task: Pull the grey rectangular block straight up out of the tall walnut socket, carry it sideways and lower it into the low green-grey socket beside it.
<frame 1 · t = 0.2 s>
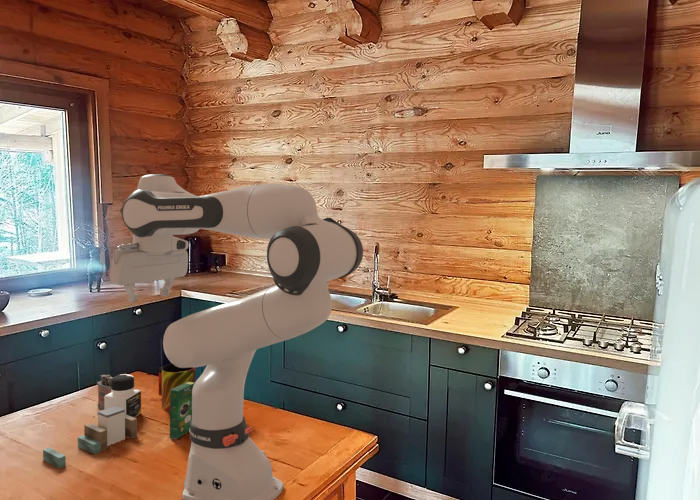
hand: (148, 298, 129), 39 cm above the table, tool pointing down, fingers open, 8 cm apart
lighter: (107, 409, 159), on the table
coffee box: (182, 433, 144), on the table
grey rectangular block: (111, 440, 138), resting in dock
mug: (172, 405, 163), on the table
medicine bottle: (123, 417, 153), on the table
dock: (92, 447, 134), on the table
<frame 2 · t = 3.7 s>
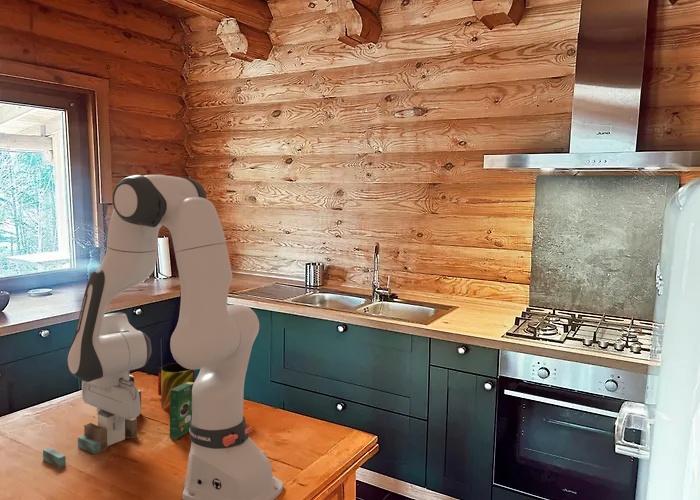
hand: (111, 426, 138), 4 cm above the table, tool pointing down, fingers closed on grey rectangular block, 4 cm apart
grey rectangular block: (111, 440, 138), resting in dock, touching gripper
everything else where it was.
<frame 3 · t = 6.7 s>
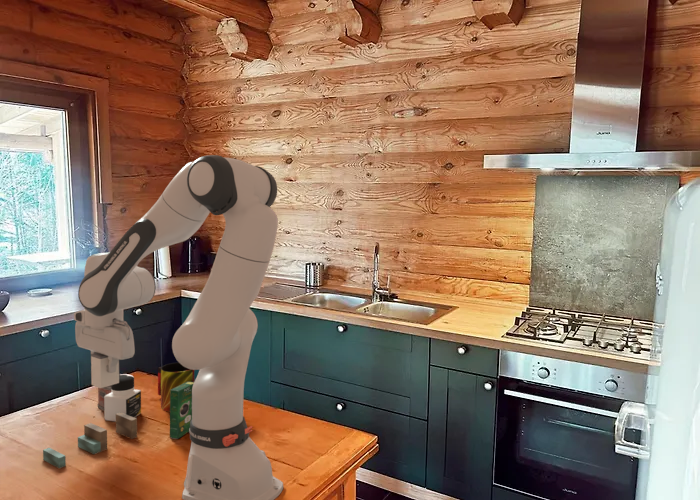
hand: (105, 369, 135), 19 cm above the table, tool pointing down, fingers closed on grey rectangular block, 4 cm apart
grey rectangular block: (105, 383, 135), point 15 cm above the table, touching gripper
everything else where it was.
when the fingers open (5 cm above the table, at t = 9.7 s): grey rectangular block drops 2 cm, resting in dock.
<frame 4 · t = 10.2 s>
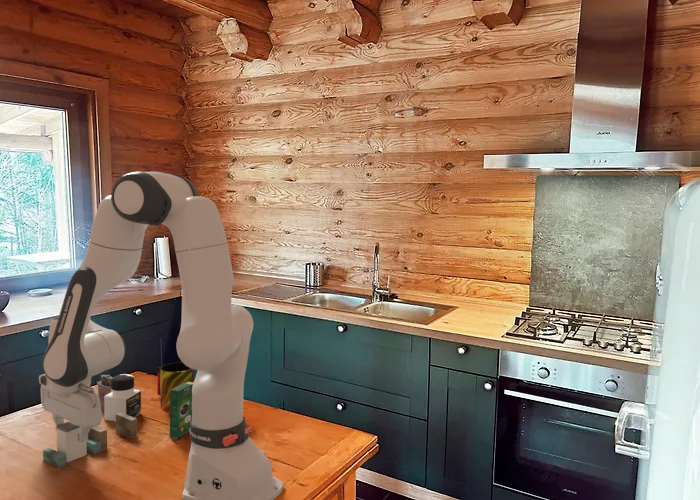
hand: (71, 435, 129), 5 cm above the table, tool pointing down, fingers open, 8 cm apart
grey rectangular block: (72, 456, 129), resting in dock
everything else where it was.
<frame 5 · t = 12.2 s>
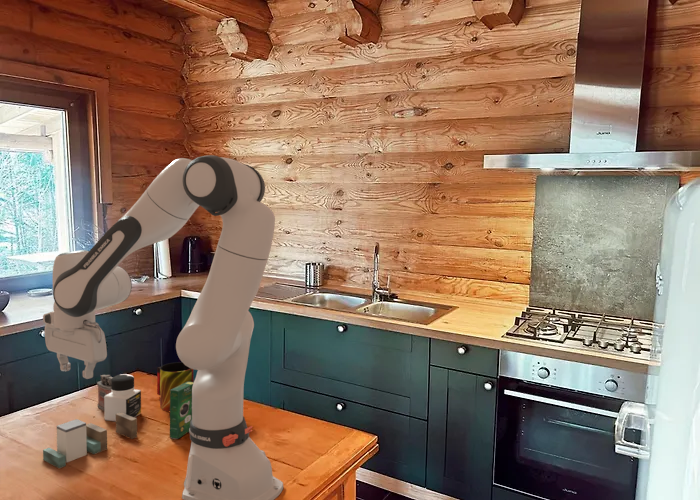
hand: (76, 374, 129), 20 cm above the table, tool pointing down, fingers open, 8 cm apart
nothing on the table moved.
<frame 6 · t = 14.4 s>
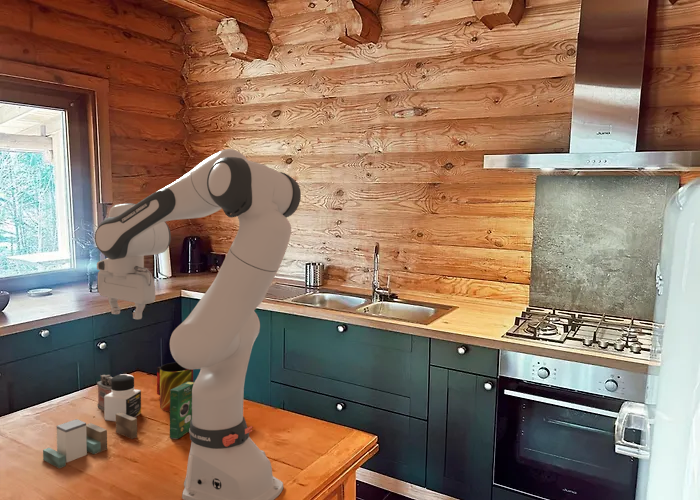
hand: (126, 316, 142), 31 cm above the table, tool pointing down, fingers open, 8 cm apart
nothing on the table moved.
at the end: grey rectangular block 0.1 cm from the target spot on the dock, point 0.0 cm above the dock's base; grey rectangular block tilted 0°; the gripper is holding nothing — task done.
